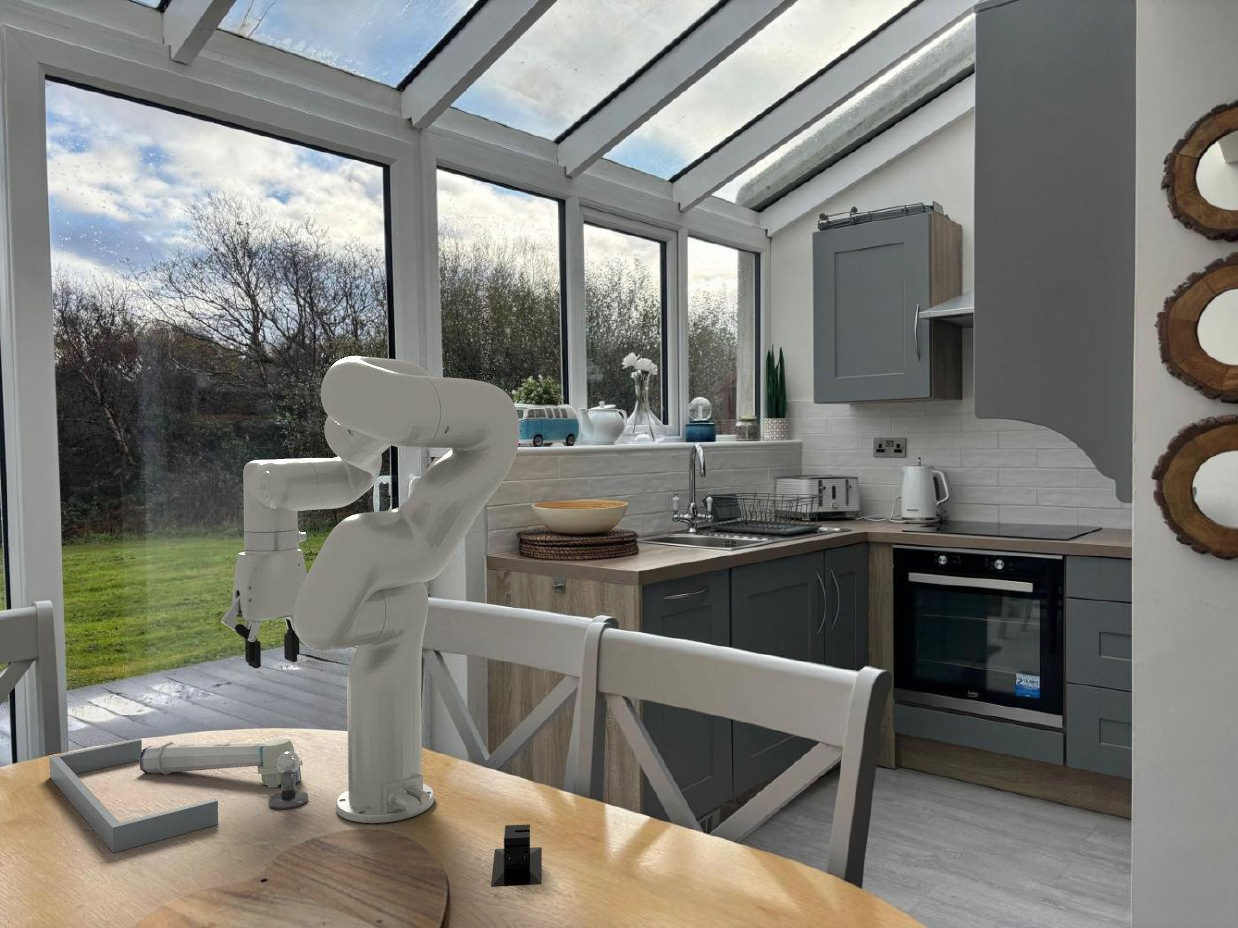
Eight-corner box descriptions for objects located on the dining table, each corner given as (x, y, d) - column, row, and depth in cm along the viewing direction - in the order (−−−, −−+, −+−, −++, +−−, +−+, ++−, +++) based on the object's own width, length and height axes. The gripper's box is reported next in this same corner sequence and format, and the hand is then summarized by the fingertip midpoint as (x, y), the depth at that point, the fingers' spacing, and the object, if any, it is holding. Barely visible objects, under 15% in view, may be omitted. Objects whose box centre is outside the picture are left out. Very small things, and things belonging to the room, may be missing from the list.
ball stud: (314, 802, 124) (313, 751, 124) (277, 812, 121) (276, 760, 120) (298, 792, 128) (298, 743, 127) (262, 801, 124) (262, 751, 124)
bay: (218, 824, 117) (217, 800, 117) (113, 852, 109) (112, 827, 109) (140, 757, 142) (139, 738, 142) (49, 777, 134) (49, 756, 134)
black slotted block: (549, 897, 99) (548, 854, 99) (480, 900, 98) (479, 857, 98) (548, 845, 111) (547, 807, 111) (487, 848, 111) (486, 810, 111)
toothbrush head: (159, 739, 139) (305, 727, 133) (165, 783, 139) (312, 773, 133) (133, 750, 134) (284, 739, 128) (139, 796, 134) (291, 786, 128)
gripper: (315, 536, 147) (316, 650, 147) (203, 544, 135) (205, 668, 136) (336, 540, 141) (337, 658, 142) (221, 549, 130) (223, 678, 130)
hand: (272, 662), depth 139 cm, fingers open, 4 cm apart
